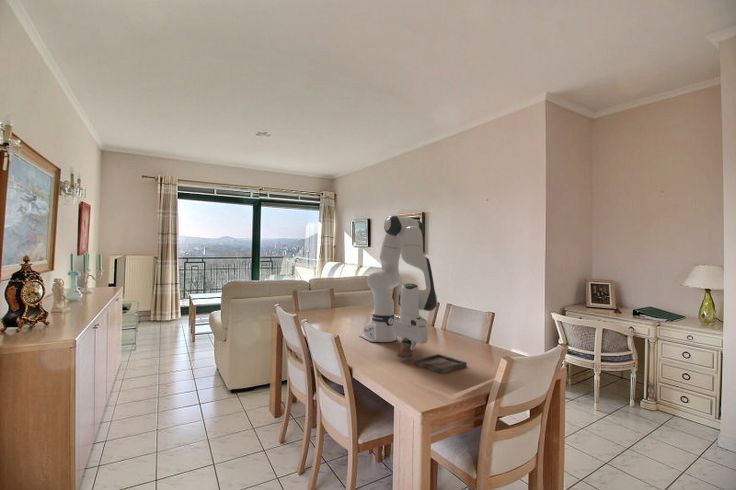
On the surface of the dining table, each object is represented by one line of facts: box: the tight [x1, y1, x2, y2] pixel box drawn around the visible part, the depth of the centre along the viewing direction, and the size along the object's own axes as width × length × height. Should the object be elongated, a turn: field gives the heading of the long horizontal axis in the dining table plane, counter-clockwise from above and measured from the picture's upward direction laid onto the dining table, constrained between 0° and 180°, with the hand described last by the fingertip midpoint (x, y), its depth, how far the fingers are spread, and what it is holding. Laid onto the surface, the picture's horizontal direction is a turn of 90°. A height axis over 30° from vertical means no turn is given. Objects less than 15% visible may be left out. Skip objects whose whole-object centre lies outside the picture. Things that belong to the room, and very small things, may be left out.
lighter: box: [396, 337, 416, 359], centre depth 164 cm, size 8×3×10 cm, turn 120°
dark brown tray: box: [414, 353, 467, 375], centre depth 157 cm, size 16×16×2 cm
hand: (408, 348), depth 163 cm, fingers closed on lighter, 3 cm apart
